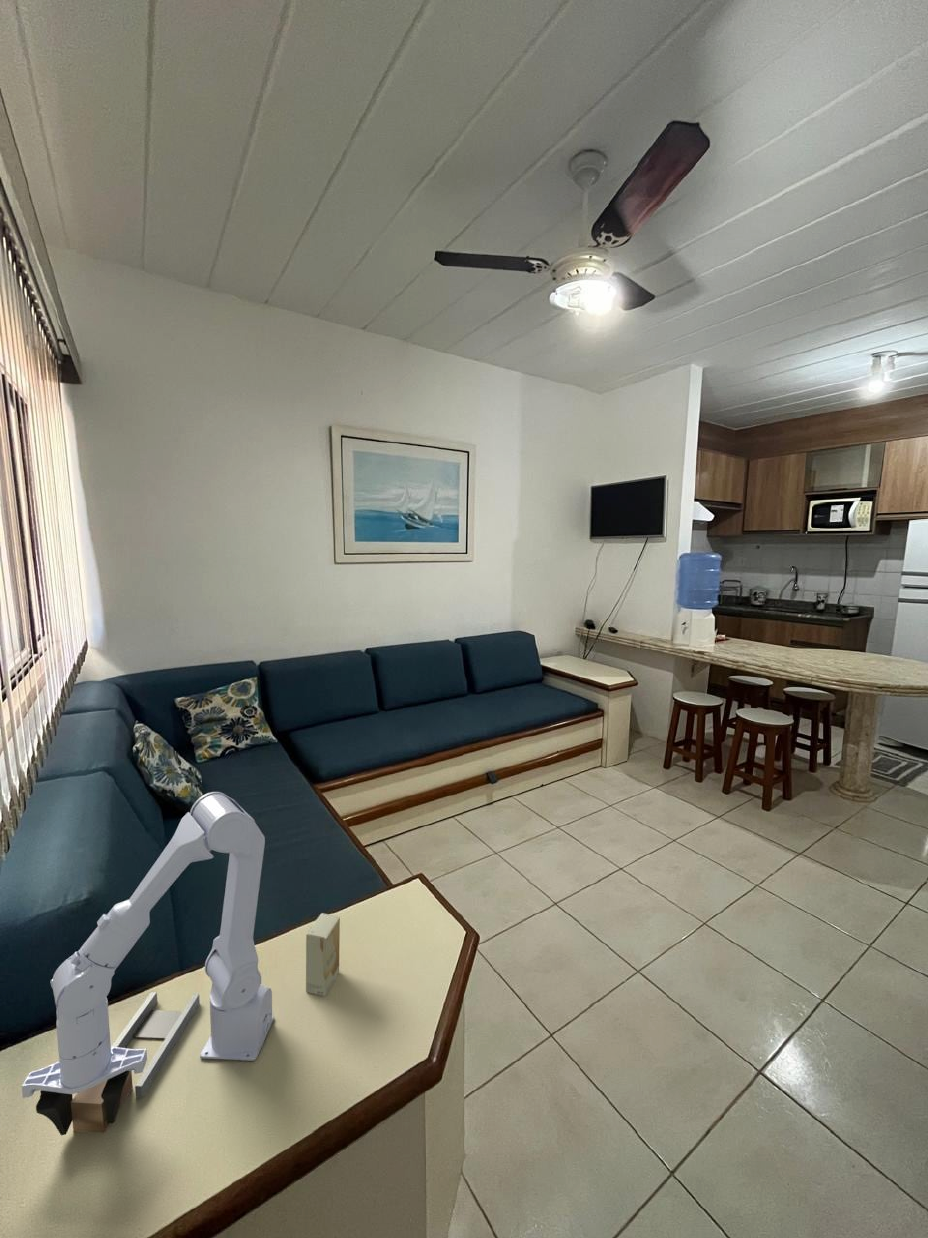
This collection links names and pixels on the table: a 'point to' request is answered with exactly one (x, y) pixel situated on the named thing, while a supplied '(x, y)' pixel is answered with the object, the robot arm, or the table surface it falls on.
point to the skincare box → (322, 954)
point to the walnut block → (94, 1108)
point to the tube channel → (156, 1033)
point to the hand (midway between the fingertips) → (90, 1121)
